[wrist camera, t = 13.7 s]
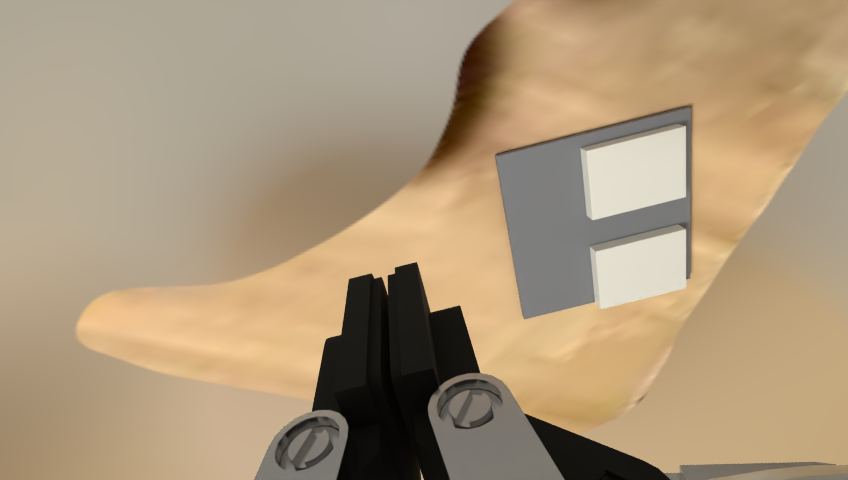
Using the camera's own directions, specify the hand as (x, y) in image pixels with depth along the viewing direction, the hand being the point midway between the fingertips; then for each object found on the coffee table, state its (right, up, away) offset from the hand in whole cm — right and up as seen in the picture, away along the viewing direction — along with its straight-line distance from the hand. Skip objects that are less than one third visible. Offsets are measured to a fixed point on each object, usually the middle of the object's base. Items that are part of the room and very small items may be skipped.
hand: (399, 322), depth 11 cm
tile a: (+14, +7, +27) cm, 31 cm away
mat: (+16, +4, +29) cm, 34 cm away
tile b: (+16, -1, +30) cm, 34 cm away
